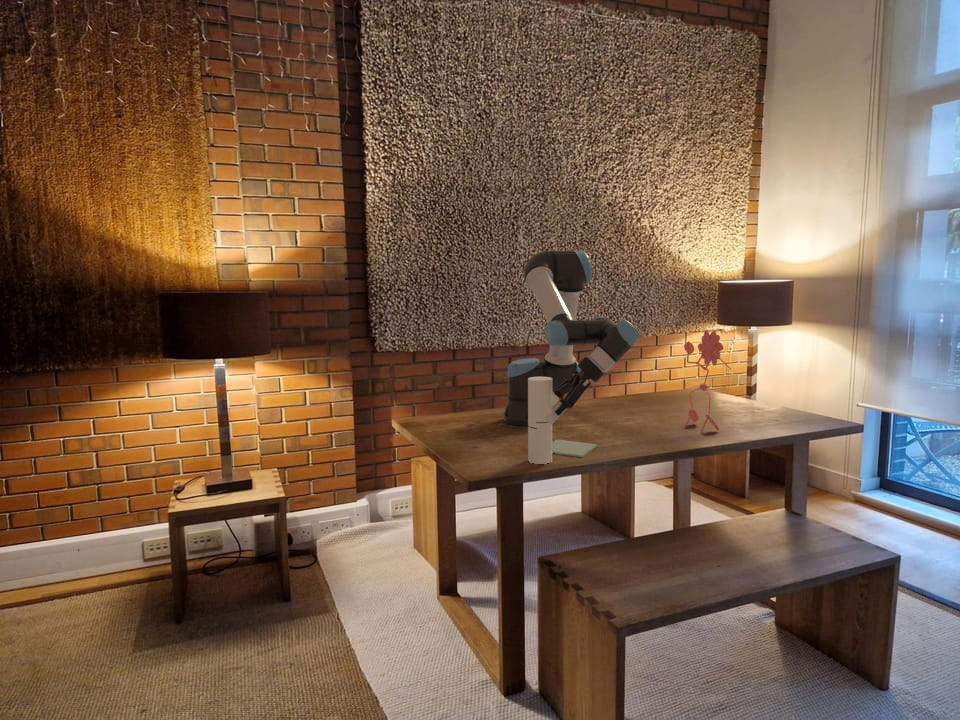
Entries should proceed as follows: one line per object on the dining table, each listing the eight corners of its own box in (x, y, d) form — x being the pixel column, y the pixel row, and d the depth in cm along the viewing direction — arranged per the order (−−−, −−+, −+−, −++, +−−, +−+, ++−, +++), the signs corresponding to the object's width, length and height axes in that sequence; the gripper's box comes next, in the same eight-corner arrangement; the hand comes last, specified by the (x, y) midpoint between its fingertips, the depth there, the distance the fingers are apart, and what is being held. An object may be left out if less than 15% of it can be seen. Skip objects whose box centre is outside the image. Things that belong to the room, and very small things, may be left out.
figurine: (714, 438, 214) (718, 334, 209) (670, 421, 238) (673, 328, 233) (752, 434, 218) (757, 332, 213) (705, 418, 242) (709, 326, 237)
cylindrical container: (551, 465, 187) (551, 381, 183) (526, 464, 188) (526, 380, 185) (553, 458, 194) (553, 376, 190) (529, 457, 195) (529, 376, 191)
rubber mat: (539, 451, 200) (539, 449, 200) (556, 441, 213) (556, 439, 213) (582, 457, 194) (582, 455, 194) (597, 446, 206) (597, 444, 206)
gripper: (614, 380, 174) (559, 435, 176) (595, 367, 199) (547, 415, 201) (595, 361, 173) (540, 417, 175) (578, 350, 198) (531, 399, 200)
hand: (544, 416), depth 188 cm, fingers open, 13 cm apart
